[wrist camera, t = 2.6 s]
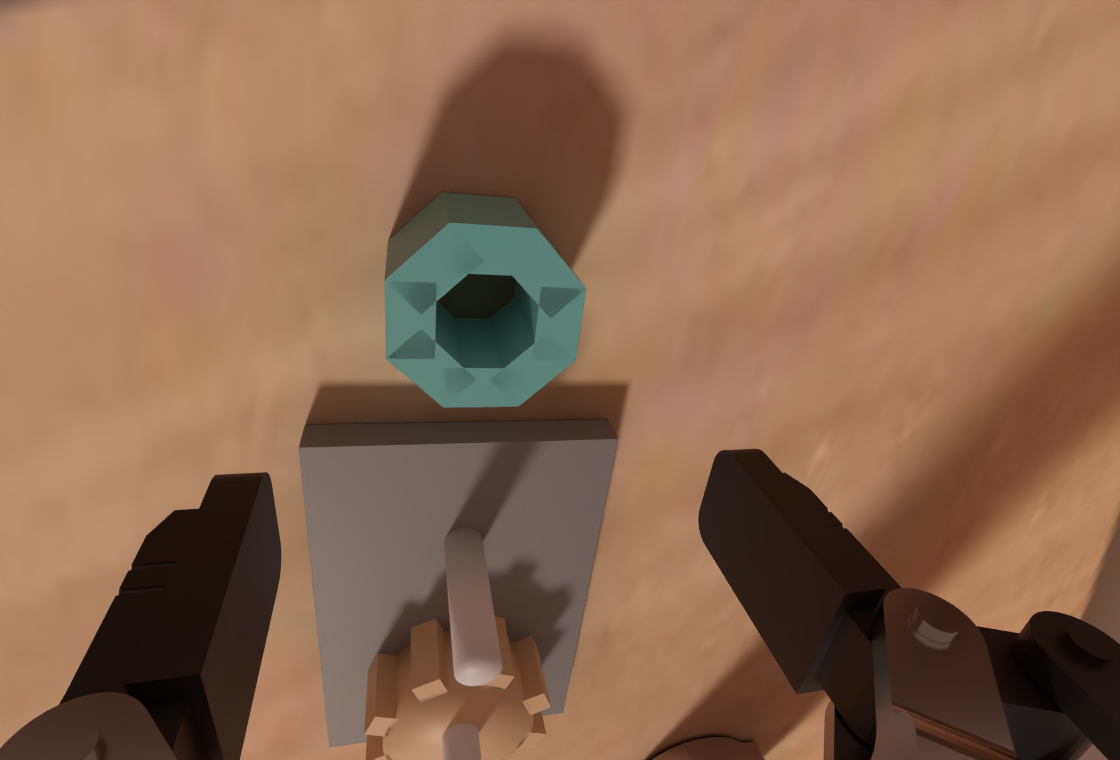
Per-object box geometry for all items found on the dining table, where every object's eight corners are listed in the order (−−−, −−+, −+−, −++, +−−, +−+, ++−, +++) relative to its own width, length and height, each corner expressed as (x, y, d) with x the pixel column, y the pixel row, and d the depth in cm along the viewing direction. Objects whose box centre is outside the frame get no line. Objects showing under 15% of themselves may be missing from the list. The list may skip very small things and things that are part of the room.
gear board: (607, 419, 25) (675, 544, 19) (557, 687, 33) (592, 837, 27) (305, 424, 22) (264, 576, 16) (332, 718, 30) (312, 895, 24)
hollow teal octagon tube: (563, 201, 20) (594, 232, 17) (544, 353, 23) (569, 406, 19) (387, 187, 19) (383, 218, 15) (389, 351, 21) (386, 408, 18)
